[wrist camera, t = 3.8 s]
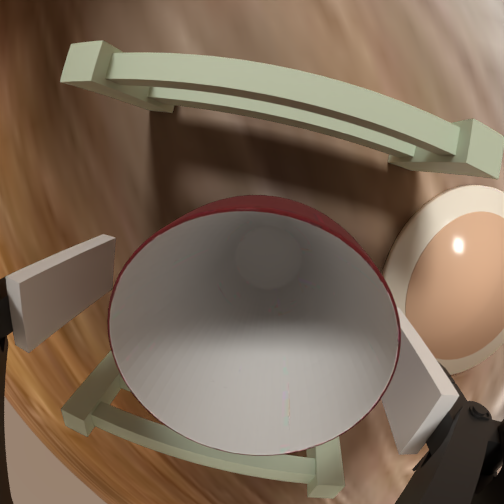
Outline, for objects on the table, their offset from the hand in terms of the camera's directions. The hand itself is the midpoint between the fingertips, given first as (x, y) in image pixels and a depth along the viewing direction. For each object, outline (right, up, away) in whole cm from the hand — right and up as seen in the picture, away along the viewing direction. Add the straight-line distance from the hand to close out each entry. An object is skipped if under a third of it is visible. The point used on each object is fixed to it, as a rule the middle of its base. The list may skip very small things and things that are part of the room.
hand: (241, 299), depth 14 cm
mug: (0, +1, +4) cm, 4 cm away
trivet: (+14, 0, +3) cm, 15 cm away
